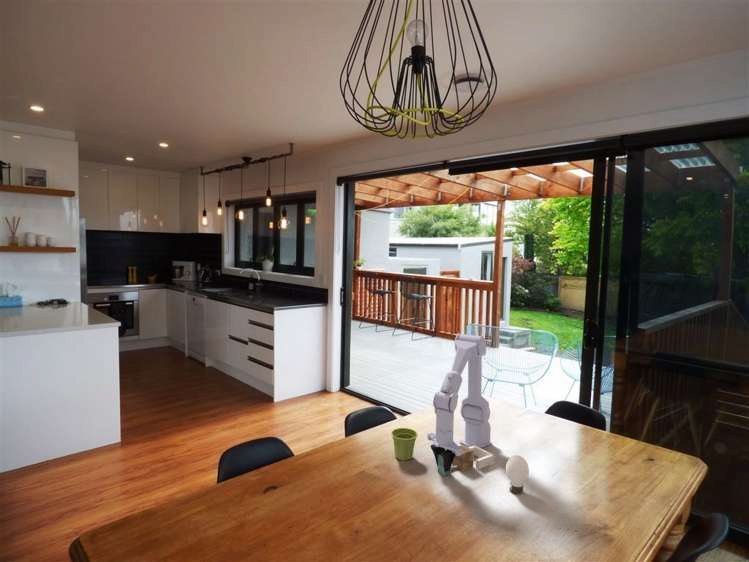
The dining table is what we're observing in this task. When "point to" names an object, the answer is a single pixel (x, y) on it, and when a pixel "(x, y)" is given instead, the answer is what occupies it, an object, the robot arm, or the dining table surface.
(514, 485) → the light bulb
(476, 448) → the shelf lane
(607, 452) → the dining table surface
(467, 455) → the tethered block
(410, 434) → the plant pot
